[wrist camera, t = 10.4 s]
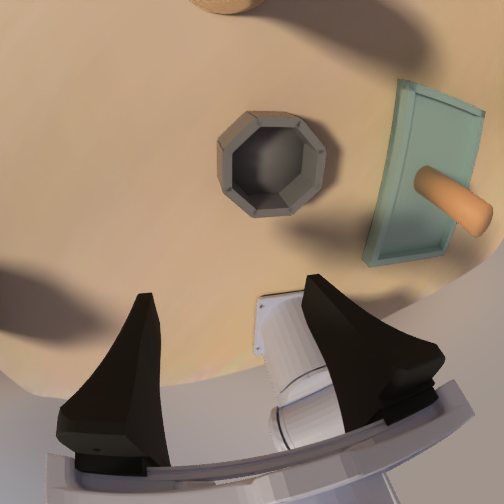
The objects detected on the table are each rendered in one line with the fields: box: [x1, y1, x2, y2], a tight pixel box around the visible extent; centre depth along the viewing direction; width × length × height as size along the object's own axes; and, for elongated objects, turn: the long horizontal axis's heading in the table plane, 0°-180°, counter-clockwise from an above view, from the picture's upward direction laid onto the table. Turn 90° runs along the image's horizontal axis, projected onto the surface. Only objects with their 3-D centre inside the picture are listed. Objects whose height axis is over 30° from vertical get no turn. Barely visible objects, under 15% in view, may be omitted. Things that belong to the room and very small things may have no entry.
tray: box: [362, 79, 485, 267], centre depth 24 cm, size 18×12×2 cm, turn 178°
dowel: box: [414, 166, 493, 237], centre depth 21 cm, size 3×3×8 cm
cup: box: [217, 111, 327, 218], centre depth 19 cm, size 7×7×3 cm
